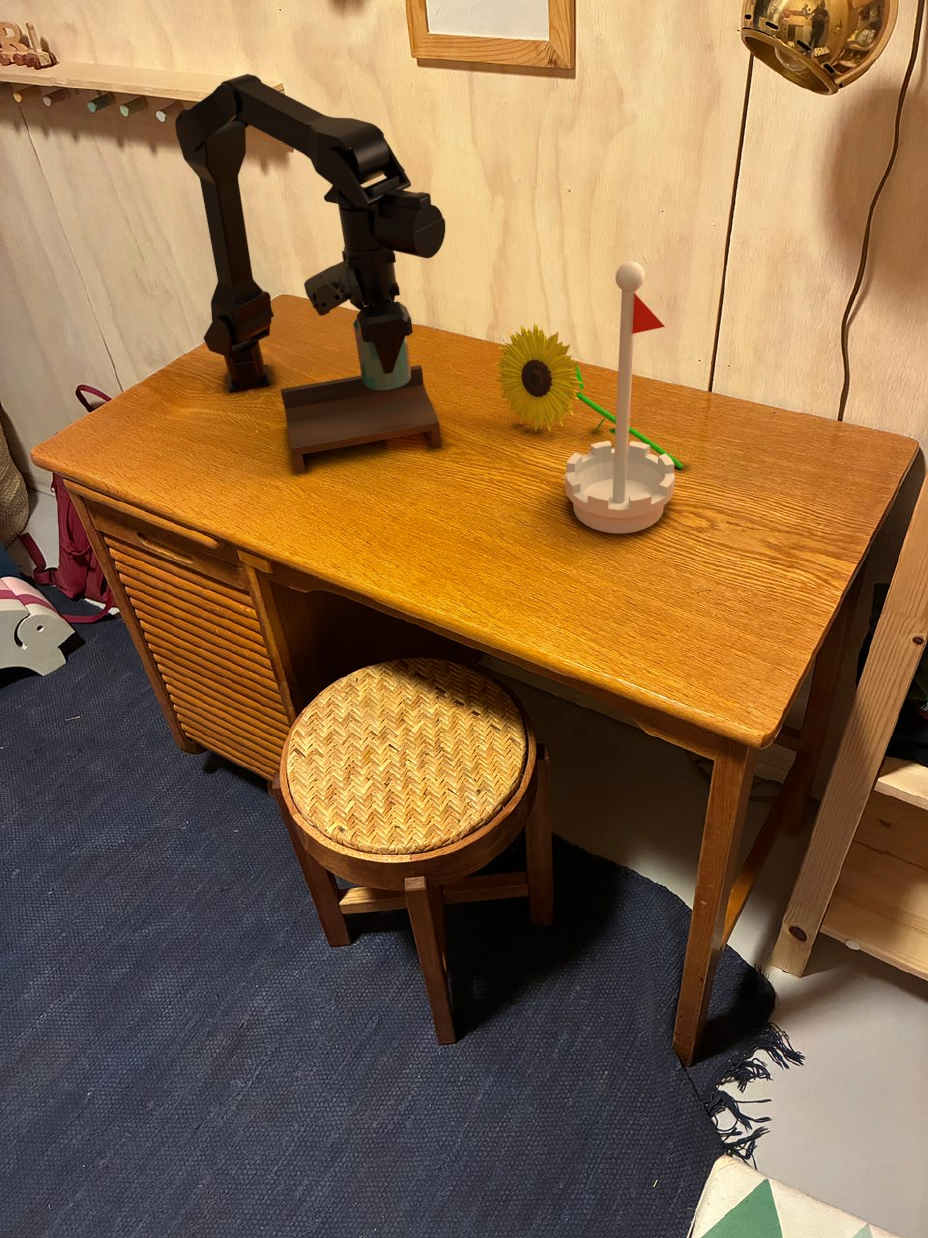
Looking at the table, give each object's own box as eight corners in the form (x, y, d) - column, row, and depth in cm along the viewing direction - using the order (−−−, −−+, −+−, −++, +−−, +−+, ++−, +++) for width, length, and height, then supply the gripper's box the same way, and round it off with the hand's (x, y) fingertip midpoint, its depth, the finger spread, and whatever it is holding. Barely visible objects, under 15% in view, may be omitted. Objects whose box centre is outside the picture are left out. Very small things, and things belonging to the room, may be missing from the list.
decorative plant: (714, 417, 113) (533, 295, 123) (692, 430, 110) (507, 303, 119) (664, 506, 123) (501, 387, 133) (642, 521, 120) (475, 397, 129)
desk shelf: (289, 429, 132) (280, 388, 128) (425, 405, 134) (420, 364, 130) (296, 474, 123) (286, 431, 119) (441, 447, 125) (437, 404, 121)
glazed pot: (359, 371, 125) (350, 315, 120) (406, 363, 126) (399, 307, 121) (366, 393, 121) (356, 336, 115) (414, 385, 121) (408, 328, 116)
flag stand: (543, 504, 114) (538, 264, 94) (618, 464, 119) (630, 228, 99) (617, 552, 106) (630, 301, 86) (695, 507, 111) (724, 260, 91)
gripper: (295, 226, 117) (317, 340, 128) (309, 281, 104) (332, 404, 114) (380, 213, 118) (395, 327, 129) (405, 266, 105) (419, 389, 115)
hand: (384, 360), depth 122 cm, fingers closed on glazed pot, 6 cm apart
